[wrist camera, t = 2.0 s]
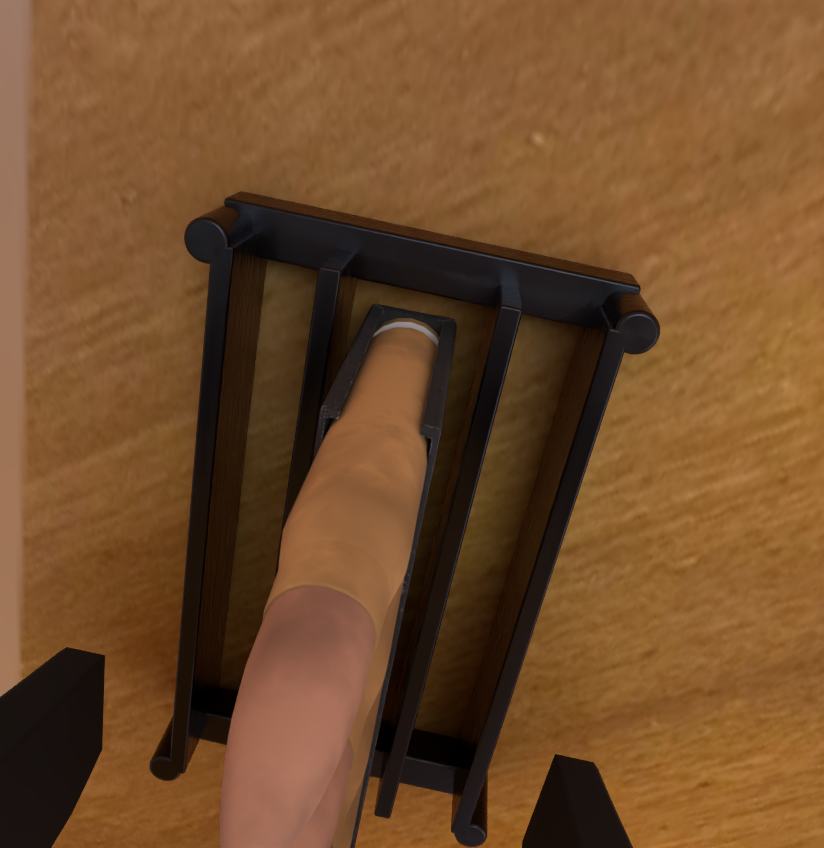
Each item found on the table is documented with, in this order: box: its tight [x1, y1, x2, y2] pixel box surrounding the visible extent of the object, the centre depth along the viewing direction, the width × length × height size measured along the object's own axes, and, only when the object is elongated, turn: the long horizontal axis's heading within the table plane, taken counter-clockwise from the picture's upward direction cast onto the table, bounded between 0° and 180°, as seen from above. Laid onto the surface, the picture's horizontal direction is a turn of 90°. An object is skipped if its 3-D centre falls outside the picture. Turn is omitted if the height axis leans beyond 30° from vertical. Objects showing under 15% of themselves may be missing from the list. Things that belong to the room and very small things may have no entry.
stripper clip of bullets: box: [219, 304, 456, 848], centre depth 13 cm, size 11×2×12 cm, turn 170°
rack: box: [150, 191, 660, 847], centre depth 17 cm, size 8×14×2 cm, turn 169°
